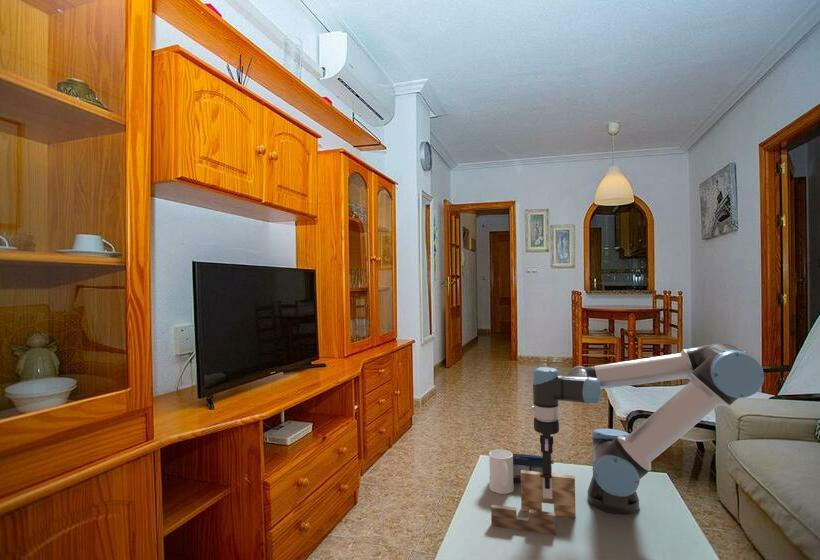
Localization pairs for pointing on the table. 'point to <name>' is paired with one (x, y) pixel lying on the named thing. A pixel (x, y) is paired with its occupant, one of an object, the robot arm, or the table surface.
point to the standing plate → (523, 520)
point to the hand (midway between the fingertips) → (547, 491)
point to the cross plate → (560, 493)
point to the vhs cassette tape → (525, 465)
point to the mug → (501, 471)
